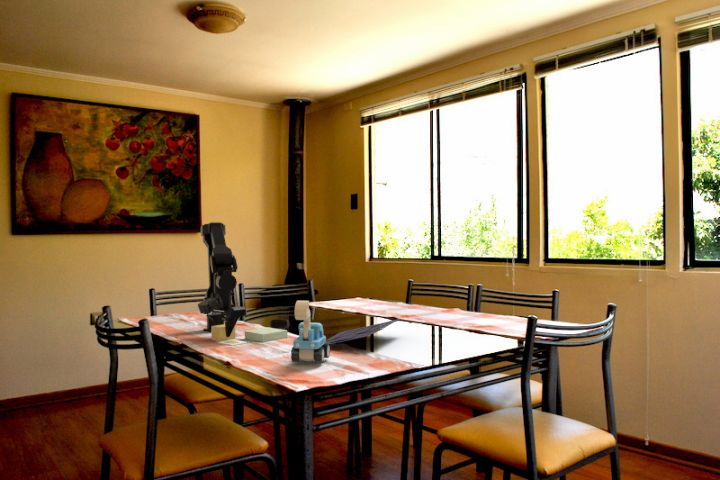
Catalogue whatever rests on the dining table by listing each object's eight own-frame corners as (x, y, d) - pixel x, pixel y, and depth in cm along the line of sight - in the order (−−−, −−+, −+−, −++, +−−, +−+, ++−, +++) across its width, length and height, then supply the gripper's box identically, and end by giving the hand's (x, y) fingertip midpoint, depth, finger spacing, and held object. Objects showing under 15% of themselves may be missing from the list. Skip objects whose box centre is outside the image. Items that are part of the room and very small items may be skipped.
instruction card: (217, 342, 175) (217, 341, 175) (233, 340, 180) (233, 339, 180) (231, 345, 170) (231, 344, 170) (247, 342, 174) (247, 341, 174)
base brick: (244, 340, 182) (244, 331, 182) (268, 336, 189) (268, 327, 189) (263, 343, 175) (263, 334, 175) (287, 339, 183) (287, 330, 183)
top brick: (211, 339, 181) (211, 326, 181) (226, 337, 185) (226, 324, 185) (219, 341, 178) (219, 327, 178) (235, 338, 182) (235, 325, 182)
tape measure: (287, 328, 195) (287, 317, 196) (268, 330, 195) (268, 319, 196) (290, 329, 201) (289, 319, 202) (272, 330, 202) (271, 320, 202)
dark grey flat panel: (303, 359, 167) (301, 347, 167) (341, 339, 195) (339, 329, 195) (375, 343, 159) (372, 331, 159) (404, 326, 187) (402, 315, 187)
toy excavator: (282, 369, 138) (281, 301, 138) (301, 355, 154) (300, 294, 154) (315, 370, 136) (314, 301, 136) (330, 356, 152) (330, 295, 152)
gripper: (186, 289, 182) (186, 336, 182) (217, 292, 169) (218, 342, 169) (215, 287, 190) (215, 332, 190) (247, 290, 178) (247, 337, 178)
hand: (223, 336), depth 182 cm, fingers closed on top brick, 5 cm apart
